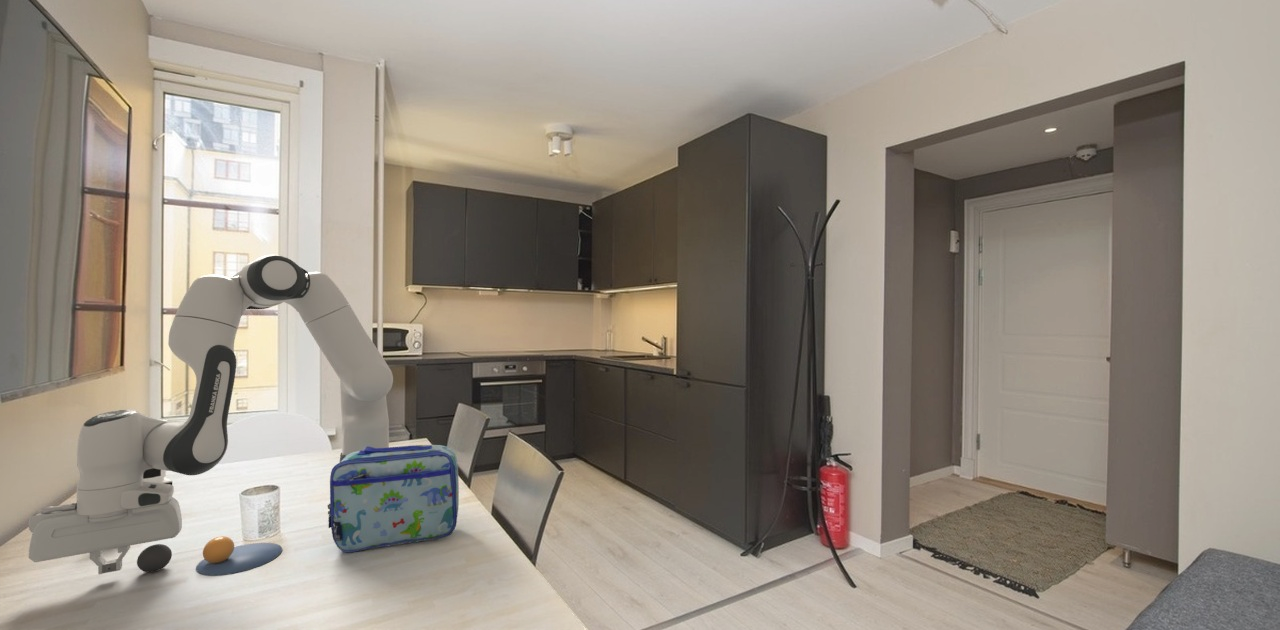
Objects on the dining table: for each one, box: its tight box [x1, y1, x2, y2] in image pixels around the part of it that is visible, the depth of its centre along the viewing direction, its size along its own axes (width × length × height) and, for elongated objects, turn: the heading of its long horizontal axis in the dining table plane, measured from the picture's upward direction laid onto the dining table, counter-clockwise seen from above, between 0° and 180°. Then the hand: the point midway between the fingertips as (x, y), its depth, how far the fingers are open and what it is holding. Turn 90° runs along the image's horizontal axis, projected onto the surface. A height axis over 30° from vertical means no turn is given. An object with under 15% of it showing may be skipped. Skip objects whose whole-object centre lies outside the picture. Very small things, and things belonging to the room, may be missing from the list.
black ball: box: [136, 543, 173, 573], centre depth 102 cm, size 5×5×5 cm
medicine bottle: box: [143, 468, 173, 485], centre depth 134 cm, size 7×7×12 cm
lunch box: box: [327, 444, 460, 553], centre depth 116 cm, size 26×11×21 cm, turn 107°
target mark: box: [195, 542, 283, 576], centre depth 107 cm, size 14×14×1 cm
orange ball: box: [202, 535, 235, 563], centre depth 105 cm, size 5×5×5 cm
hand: (110, 571), depth 98 cm, fingers closed
